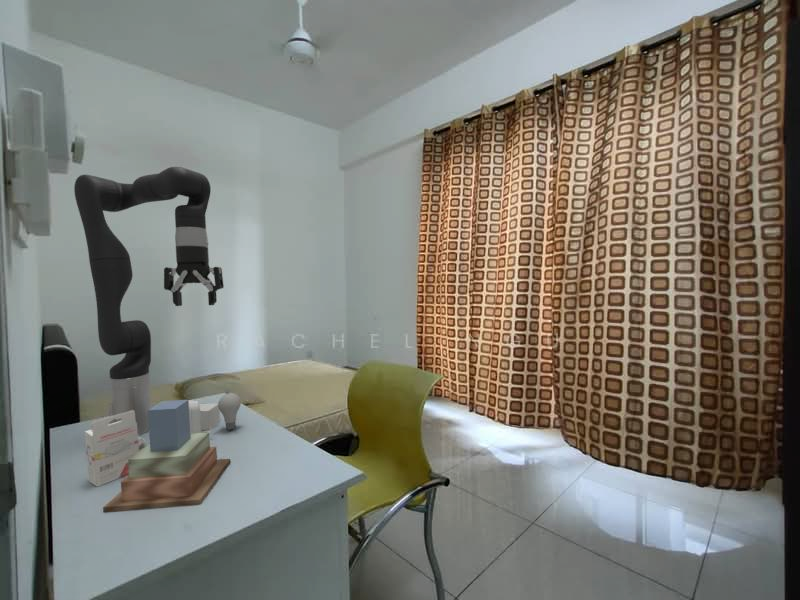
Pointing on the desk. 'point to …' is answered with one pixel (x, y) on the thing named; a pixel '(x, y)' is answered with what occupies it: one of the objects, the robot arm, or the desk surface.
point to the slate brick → (169, 425)
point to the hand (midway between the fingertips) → (195, 305)
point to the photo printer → (194, 417)
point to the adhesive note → (209, 416)
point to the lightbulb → (229, 409)
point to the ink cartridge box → (111, 447)
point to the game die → (141, 442)
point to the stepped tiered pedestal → (170, 476)
